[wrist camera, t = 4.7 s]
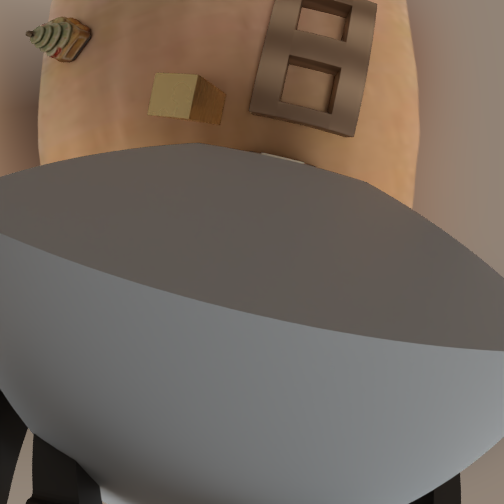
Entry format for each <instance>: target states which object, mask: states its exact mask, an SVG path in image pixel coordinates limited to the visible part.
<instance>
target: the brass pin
mask: <svg viewBox="0 0 504 504" xmlns="http://www.w3.org/2000/svg"><path fill="white" fill-rule="evenodd" d="M225 98H226V94H225V93H224V92H222V91H221V90H219V89H218V88H217V87H215V86H214V85H212V84H211V83H210V82H208V81H207V80H205V79H204V78H202V77H201V76H199V75H196V74H179V73H156V74H155V79H154V83H153V88H152V93H151V98H150V103H149V108H148V114H147V115H151V116H159V117H167V118H174V119H181V120H187V121H195V122H203V123H210V124H217V125H220V122H221V117H222V112H223V108H224V103H225Z"/></svg>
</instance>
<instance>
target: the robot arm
mask: <svg viewBox="0 0 504 504" xmlns="http://www.w3.org/2000/svg"><path fill="white" fill-rule="evenodd" d="M27 429H28V427H27V426H26V424H25V423H24V422H23V421H22V419H21V418H20V417H19V415H18V414H17V413H16V411H15V410H14V408H13V407H12V406H11V404H10V403H9V401H8V400H7V398H6V397H5V395H4V394H3V392H2V391H1V389H0V504H7V500H8V496H9V491H10V487H11V482H12V478H13V474H14V471H15V467H16V463H17V460H18V456H19V453H20V450H21V447H22V444H23V441H24V438H25V435H26V432H27ZM32 477H33V478H32V481H33V494H32V497H31V498H29V499H28V500H27V502H26V504H102V499H101V492H100V486H99V485H98V484H97V483H96V482H95V481H94V480H93V479H92V478H91V477H90V476H89V474H88V473H87V472H86V471H85V470H84V469H83V468H82V467H81V466H80V465H79V464H78V462H77V461H76V460H74V459H73V458H71V457H69V456H68V455H66V454H64V453H63V452H61V451H60V450H58V449H56V448H55V447H53V446H52V445H50V444H49V443H47V442H46V441H44V440H43V439H41V438H40V437H39V436H37V435H36V434H34V438H33V458H32ZM409 504H461V485H460V473H458V474H457V475H455V476H454V477H452V478H451V479H450V480H448V481H446V482H445V483H443V484H442V485H440V486H439V487H437V488H435V489H434V490H432V491H430V492H429V493H427V494H425V495H424V496H422V497H420V498H418V499H416V500H415V501H413V502H411V503H409Z"/></svg>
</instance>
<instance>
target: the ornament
mask: <svg viewBox="0 0 504 504" xmlns="http://www.w3.org/2000/svg"><path fill="white" fill-rule="evenodd" d="M89 32H90V29H89V28H88V27H87V26H85V25H82V24H81V23H80V22H79V21H78V20H76V19H74V18H66V17H59V18H56V19H54V20H52V21H50V22H48V23H46V24H42V25H41V26H39V27H37V28H36V29H34V30H33V31H27V32H26V36H29V37H30V41H31V43H32V44H35V46H36V48H40V51H41V52H47V56H49V57H52V58H55V59H57V60H58V61H60V62H71V61H73V60H74V59H75V58H76V57H77V55H78V54H79V53H80V51H81V50H82V49H83V47H84V46H85V45H86V43H87V42H88V40H89V39H90V33H89Z"/></svg>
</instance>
